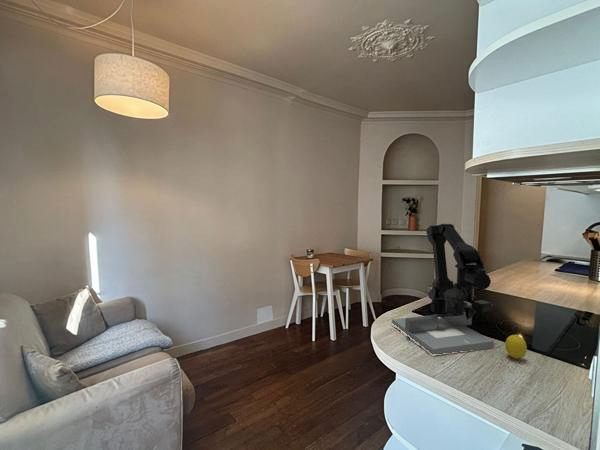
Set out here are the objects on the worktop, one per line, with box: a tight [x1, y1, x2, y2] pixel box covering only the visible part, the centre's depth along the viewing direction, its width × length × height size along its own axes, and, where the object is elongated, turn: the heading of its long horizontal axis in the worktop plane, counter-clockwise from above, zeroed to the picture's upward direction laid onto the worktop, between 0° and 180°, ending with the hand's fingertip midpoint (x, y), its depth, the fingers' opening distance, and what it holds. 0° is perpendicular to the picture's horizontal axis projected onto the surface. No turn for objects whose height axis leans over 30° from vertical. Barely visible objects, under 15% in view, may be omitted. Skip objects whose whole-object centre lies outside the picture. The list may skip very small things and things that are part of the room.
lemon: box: [504, 333, 528, 360], centre depth 94 cm, size 6×6×8 cm
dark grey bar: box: [405, 311, 473, 332], centre depth 109 cm, size 27×4×4 cm, turn 105°
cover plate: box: [391, 314, 494, 354], centre depth 110 cm, size 24×24×3 cm
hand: (463, 321), depth 113 cm, fingers open, 3 cm apart
